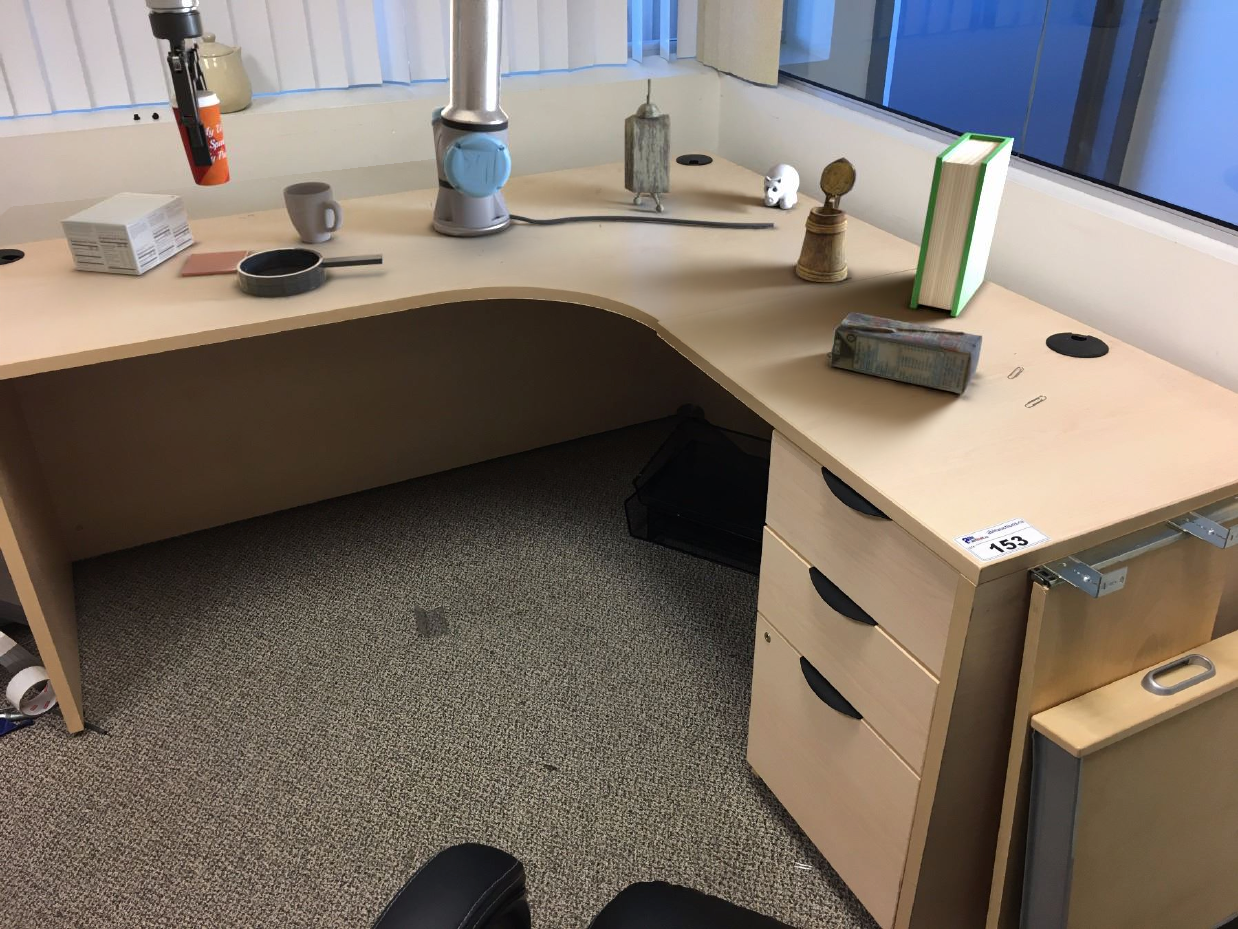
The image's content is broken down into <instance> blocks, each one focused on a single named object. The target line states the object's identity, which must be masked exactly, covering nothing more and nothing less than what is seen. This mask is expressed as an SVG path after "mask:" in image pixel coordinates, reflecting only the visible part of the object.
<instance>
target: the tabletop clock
mask: <svg viewBox="0 0 1238 929" xmlns="http://www.w3.org/2000/svg"><path fill="white" fill-rule="evenodd" d="M651 93H652V79H650V78H648V79H647V95H646V103H642V104H640V105H639V107H638V108H637V110H636V113H635V114H634V113H633V114H631V115H630V116H628V117H626V118H625V119H624V189H626V190H627V191H629V192H631V193H633V194H636V197H634V198H633V201H632V202H633V204H634V206H635V205H636V206H639V205H640V204H641V202H642V200H641V195H642V194H650V195H651V196H652V197H653V200H654V201H655V204H656V206H655V210H656V212H658V213H662V212H663V211H664V209H665V207H664V205H663V204H661V203H660V200H659V198H660V197H662V196H663V194H669V193H670V172H671V170H670V169H671V117H670V114H669V113H665V114H664V113H663V112H662V110H661V108H660V106H659V105H658V104H656V103H653V96H652V94H651Z"/></svg>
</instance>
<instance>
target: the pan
mask: <svg viewBox="0 0 1238 929" xmlns="http://www.w3.org/2000/svg"><path fill="white" fill-rule="evenodd" d="M323 258H324V256H323V255H322V254H321V252H318V251H316V250H313V249H308V248H303V247H302V248H301V247H283V248H282V247H281V248H275V249H274V248H273V249H268V250H267V249H266V250H263V251H259V252H256V253H253V254H251V255H247V257H246V258H244V259H242V260H241V261H240V262H238V264H237V266H236V270H237V278H238V282H239V287H240V289H241V290H242V291H243V292H244V293H245V294H247V295H251V296H254V297H261V298H282V297H290V296H296V295H301V294H304V293H307V292H310V291H312V290H315V289H316V288H319V287H320V286H322V285H323V284H324V283H325V282H326V280H327V271H326V268H323Z"/></svg>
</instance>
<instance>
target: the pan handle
mask: <svg viewBox="0 0 1238 929" xmlns="http://www.w3.org/2000/svg"><path fill="white" fill-rule="evenodd" d="M383 260H384V258H383V254H382V253H378V254H363V255H350V256H349V255H348V256H334V257H323V268H325V269H330V268H344V267H345V268H346V267H359V266H361V267H362V266H373V265H375V266H376V265H383V262H384V261H383Z"/></svg>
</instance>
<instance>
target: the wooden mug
mask: <svg viewBox="0 0 1238 929" xmlns="http://www.w3.org/2000/svg"><path fill="white" fill-rule="evenodd" d="M856 182H857V171H856V168H855V166H854V165H853V163H852V162H850V161H849V160H848V159H847V158H846V157H840V158H838V159H836V160H834V161H832V162H830V163H829V164H827V165H826V166H825V167H824V168H823V171H822V173H821V175H820V181H819V186H820V189H821V191H822V192H823V194H824V195H825V199H824V204H823V206H814V207H811V208H810V209H809V210H810V211H809V214H808V216H807V217H806V221H805V226H804V227H805V232H804V233H805V234H804V238H803V242H802V245H801V250H800V254H799V257H798V259H797V262H796V270H795V271H796V272H795V273H796V275H797V276H798V277H800V278H802V279H803V280H807V281H810V282H816V283H835V282H840V281H843V280H844V279H846V278H847V276H848V264H847V260H846V258H847V257H846V254H847V253H846V252H847V251H846V229H847V228H848V219H847V216H846V213H847V212H846V210H844V209H841V208H839V207H840V203H841V198H842V197H843V196H846V195H847V194H848V193H850V192H852V190H853V189H854V187H855V185H856Z"/></svg>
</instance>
